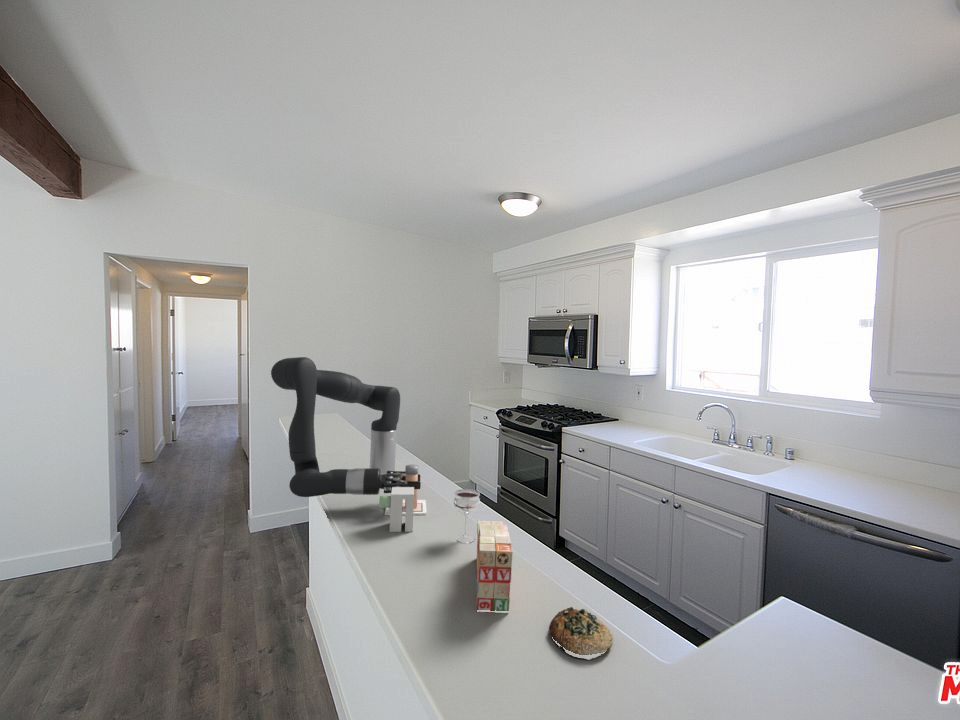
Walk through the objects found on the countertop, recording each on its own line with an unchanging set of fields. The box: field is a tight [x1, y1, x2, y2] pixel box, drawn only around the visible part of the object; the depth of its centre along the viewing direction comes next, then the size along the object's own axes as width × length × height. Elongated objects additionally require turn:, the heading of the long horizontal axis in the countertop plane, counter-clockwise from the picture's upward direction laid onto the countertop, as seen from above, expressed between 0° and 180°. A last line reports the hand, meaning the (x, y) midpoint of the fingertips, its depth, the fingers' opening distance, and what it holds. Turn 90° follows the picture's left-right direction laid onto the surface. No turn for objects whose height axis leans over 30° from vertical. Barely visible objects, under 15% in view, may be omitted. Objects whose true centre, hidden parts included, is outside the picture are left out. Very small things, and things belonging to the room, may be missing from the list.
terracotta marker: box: [404, 464, 419, 509], centre depth 133 cm, size 4×4×12 cm
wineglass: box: [453, 488, 481, 544], centre depth 114 cm, size 7×7×12 cm
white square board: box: [384, 499, 428, 516], centre depth 134 cm, size 11×12×1 cm
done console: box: [389, 487, 414, 533], centre depth 120 cm, size 6×6×10 cm
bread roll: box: [548, 606, 614, 655], centre depth 77 cm, size 11×11×5 cm
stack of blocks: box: [476, 520, 514, 612], centre depth 94 cm, size 21×6×12 cm, turn 1°
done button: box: [378, 495, 391, 509], centre depth 119 cm, size 3×4×3 cm
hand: (420, 481), depth 133 cm, fingers open, 6 cm apart
